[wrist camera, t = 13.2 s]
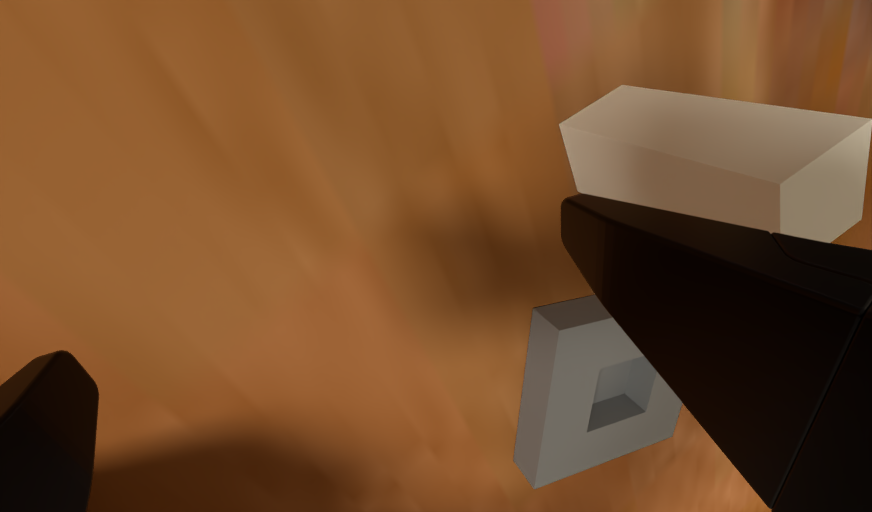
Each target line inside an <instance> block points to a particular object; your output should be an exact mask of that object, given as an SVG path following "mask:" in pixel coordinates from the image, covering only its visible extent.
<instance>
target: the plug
mask: <svg viewBox="0 0 872 512" xmlns="http://www.w3.org/2000/svg"><path fill="white" fill-rule="evenodd" d="M559 127H560V130H561V134H562V137H563V141H564V145H565V148H566V152H567V155H568V159H569V162H570V166H571V170H572V173H573V177H574V180H575V184H576V187H577V191H578V192H581V193H583V194H589V195H594V196H599V197H604V198H609V199H613V200H618V201H623V202H628V203H633V204H638V205H643V206H648V207H653V208H658V209H663V210H667V211H672V212H677V213H682V214H687V215H692V216H697V217H702V218H707V219H712V220H716V221H721V222H726V223H731V224H736V225H741V226H746V227H751V228H756V229H761V230H766V231H769V232H770V234H771V233H773V232H776V233H781V234H786V235H791V236H795V237H801V238H806V239H811V240H816V241H822V242H827V243H830V242H832V241H833V240H834V239H836V238H837V237H838V236H840V235H841V234H842V233H844V232H845V231H847V230H848V229H849V228H851V227H852V226H853V225H855V224H856V223H857V222H859V221H860V220H861V219H862V211H863V202H864V192H865V183H866V174H867V165H868V156H869V147H870V137H871V128H872V119H869V118H862V117H855V116H847V115H840V114H833V113H825V112H818V111H811V110H803V109H796V108H788V107H781V106H774V105H766V104H759V103H752V102H744V101H737V100H730V99H722V98H715V97H708V96H700V95H693V94H686V93H678V92H671V91H664V90H656V89H649V88H641V87H634V86H627V85H621V86H619V87H618V88H616V89H614V90H613V91H611V92H610V93H608V94H606V95H605V96H603V97H602V98H600V99H598V100H597V101H595V102H594V103H592V104H590V105H589V106H587V107H586V108H584V109H582V110H581V111H579V112H578V113H576V114H574V115H573V116H571V117H570V118H568V119H566V120H565V121H563V122H562V123H560V124H559Z"/></svg>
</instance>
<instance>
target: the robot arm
mask: <svg viewBox="0 0 872 512" xmlns="http://www.w3.org/2000/svg"><path fill="white" fill-rule="evenodd" d="M561 238H562V242H563V244H564V246H565V248H566V250H567V251H568V253H569V254H570V256H571V258H572V259H573V261H574V262H575V264H576V265H577V267H578V268H579V270H580V272H581V273H582V275H583V276H584V278H585V279H586V281H587V283H588V284H589V286H590V287H591V289H592V290H593V292H594V293H595V295H596V296H597V298H598V299H599V301H600V302H601V304H602V305H603V306H604V307H605V309H606V310H607V311H608V313H609V314H610V315H611V316H612V317H613V319H614V320H615V321H616V322H617V324H618V325H619V326H620V327H621V328H622V330H623V331H624V332H625V333H626V335H627V336H628V337H629V338H630V339H631V341H632V342H633V343H634V344H635V345H636V347H637V348H638V349H639V350H640V352H641V353H642V354H643V355H644V356H645V358H646V359H647V360H648V361H649V363H650V364H651V365H652V366H653V367H654V369H655V370H656V371H657V372H658V374H659V375H660V376H661V377H662V378H663V380H664V381H665V382H666V383H667V385H668V386H669V387H670V388H671V389H672V391H673V392H674V393H675V394H676V395H677V397H678V398H679V399H680V400H681V402H682V403H683V404H684V405H685V406H686V408H687V409H688V410H689V411H690V413H691V414H692V415H693V416H694V417H695V419H696V420H697V421H698V422H699V424H700V425H701V426H702V427H703V428H704V430H705V431H706V432H707V433H708V434H709V436H710V437H711V438H712V439H713V441H714V442H715V443H716V444H717V445H718V447H719V448H720V449H721V450H722V452H723V453H724V454H725V455H726V456H727V458H728V459H729V460H730V461H731V463H732V464H733V465H734V466H735V467H736V469H737V470H738V471H739V472H740V473H741V475H742V476H743V477H744V478H745V480H746V481H747V482H748V483H749V484H750V486H751V487H752V488H753V489H754V491H755V492H756V493H757V494H758V495H759V497H760V498H761V499H762V500H763V502H764V503H765V504H766V505H767V506H768V507H769V508H770V509H772V510H771V511H772V512H872V250H868V249H862V248H856V247H850V246H844V245H838V244H832V243H827V242H822V241H816V240H811V239H806V238H801V237H795V236H791V235H786V234H781V233H776V232H773V233H771V234H770V232H769V231H766V230H761V229H756V228H751V227H746V226H741V225H736V224H731V223H726V222H721V221H716V220H712V219H707V218H702V217H697V216H692V215H687V214H682V213H677V212H672V211H667V210H663V209H658V208H653V207H648V206H643V205H638V204H633V203H628V202H623V201H618V200H613V199H609V198H604V197H599V196H594V195H589V194H578V195H574V196H571V197H568V198H565V199H564V200H563V201H562V204H561ZM98 402H99V392H98V388H97V385H96V383H95V381H94V380H93V379H92V378H91V376H90V375H89V374H88V373H87V372H86V370H85V369H84V368H83V367H82V366H81V364H80V363H79V362H78V361H77V360H76V358H75V357H74V356H73V355H72V354H71V353H69V352H68V351H63V350H60V351H56V352H53V353H49V354H46V355H43V356H39V357H37V358H35V359H33V360H32V361H31V362H29V363H28V364H27V365H26V366H24V367H23V368H22V369H21V370H19V371H18V372H17V373H16V374H14V375H13V376H12V377H11V378H10V379H8V380H7V381H6V382H5V383H3V384H2V385H1V386H0V512H86V511H87V506H88V501H89V496H90V490H91V484H92V478H93V469H94V458H95V444H96V430H97V416H98Z"/></svg>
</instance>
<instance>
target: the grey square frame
mask: <svg viewBox="0 0 872 512" xmlns="http://www.w3.org/2000/svg"><path fill="white" fill-rule="evenodd" d="M681 406H682V402H681V400H680V399H679V398H678V397H677V395H676V394H675V393H674V392H673V391H672V389H671V388H670V387H669V386H668V385H667V383H666V382H665V381H664V380H663V378H662V377H661V376H660V375H659V374H658V372H657V371H656V370H655V369H654V367H653V366H652V365H651V364H650V363H649V361H648V360H647V359H646V358H645V356H644V355H643V354H642V353H641V352H640V350H639V349H638V348H637V347H636V345H635V344H634V343H633V342H632V341H631V339H630V338H629V337H628V336H627V335H626V333H625V332H624V331H623V330H622V328H621V327H620V326H619V325H618V324H617V322H616V321H615V320H614V319H613V317H612V316H611V315H610V314H609V313H608V311H607V310H606V309H605V307H604V306H603V305H602V304H601V302H600V301H599V299H598V298H597V296H596V295H592V296H587V297H583V298H578V299H573V300H569V301H564V302H560V303H555V304H550V305H546V306H541V307H537V308H533V312H532V320H531V328H530V335H529V343H528V351H527V359H526V366H525V374H524V382H523V390H522V397H521V405H520V413H519V421H518V429H517V436H516V444H515V452H514V460H513V461H514V462H515V463H516V465H517V466H518V468H519V469H520V470H521V472H522V473H523V475H524V476H525V477H526V479H527V480H528V482H529V483H530V484H531V486H532V487H533V488H534V489H537V488H539V487H542V486H544V485H547V484H550V483H552V482H555V481H558V480H560V479H563V478H565V477H568V476H571V475H573V474H576V473H578V472H581V471H584V470H586V469H589V468H591V467H594V466H597V465H599V464H602V463H604V462H607V461H610V460H612V459H615V458H618V457H620V456H623V455H625V454H628V453H631V452H633V451H636V450H638V449H641V448H644V447H646V446H649V445H651V444H654V443H657V442H659V441H662V440H665V439H667V438H670V437H672V435H673V432H674V429H675V426H676V422H677V419H678V416H679V413H680V409H681Z"/></svg>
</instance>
